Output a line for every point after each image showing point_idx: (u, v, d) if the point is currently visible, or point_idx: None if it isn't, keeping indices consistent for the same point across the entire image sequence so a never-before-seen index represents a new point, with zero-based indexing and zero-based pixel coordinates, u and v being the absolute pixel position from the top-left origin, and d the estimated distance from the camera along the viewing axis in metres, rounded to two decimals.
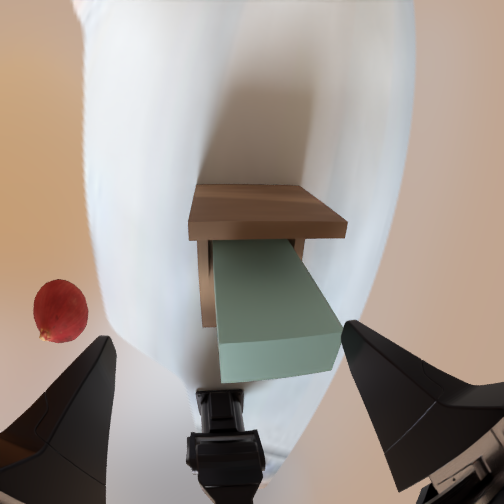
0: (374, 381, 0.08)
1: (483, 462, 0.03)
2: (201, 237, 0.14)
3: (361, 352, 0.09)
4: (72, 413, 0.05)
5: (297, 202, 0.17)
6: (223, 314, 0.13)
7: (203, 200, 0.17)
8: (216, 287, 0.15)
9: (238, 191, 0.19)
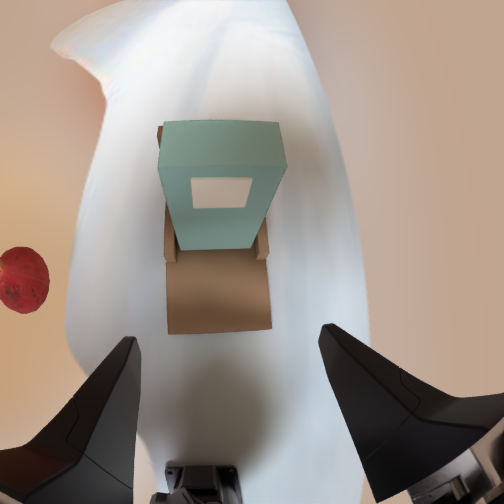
0: (350, 388, 0.08)
1: (462, 481, 0.03)
2: None
3: (337, 357, 0.08)
4: (104, 418, 0.05)
5: None
6: None
7: None
8: None
9: None
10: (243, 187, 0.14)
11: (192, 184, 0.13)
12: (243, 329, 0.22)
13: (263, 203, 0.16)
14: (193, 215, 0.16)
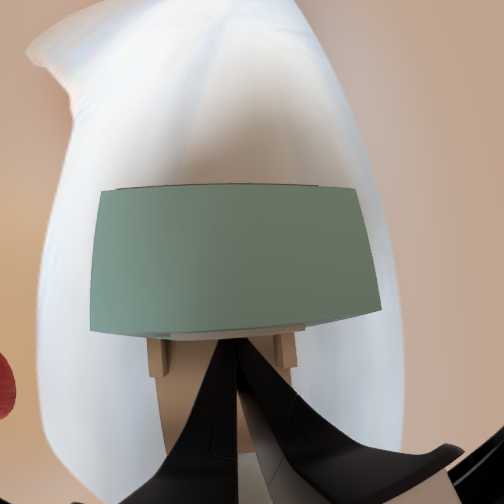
0: (247, 407, 0.07)
1: None
2: None
3: (238, 372, 0.08)
4: None
5: None
6: None
7: None
8: None
9: None
10: None
11: (176, 340, 0.06)
12: None
13: (306, 326, 0.09)
14: None
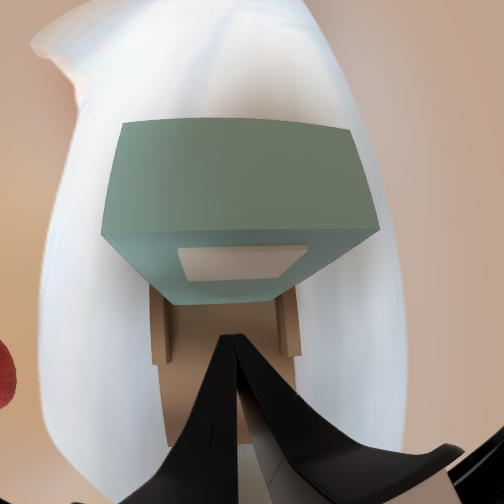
0: (247, 407, 0.07)
1: None
2: None
3: (238, 372, 0.08)
4: None
5: None
6: None
7: None
8: None
9: None
10: (285, 260, 0.07)
11: (182, 259, 0.06)
12: None
13: (308, 270, 0.09)
14: (189, 283, 0.10)
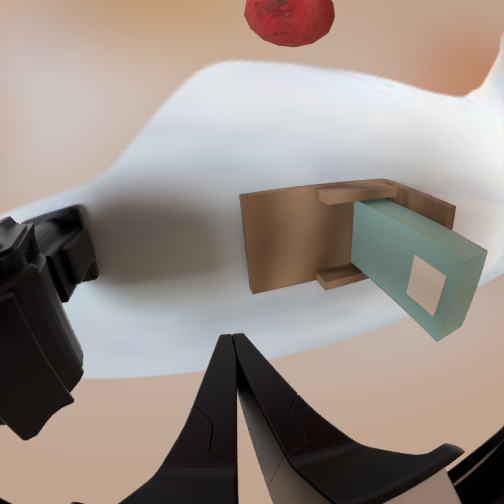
0: (248, 407, 0.07)
1: None
2: (448, 215, 0.15)
3: (238, 372, 0.08)
4: None
5: None
6: None
7: None
8: (440, 225, 0.16)
9: None
10: (426, 305, 0.14)
11: (441, 274, 0.13)
12: (251, 270, 0.23)
13: (406, 306, 0.17)
14: (404, 246, 0.16)
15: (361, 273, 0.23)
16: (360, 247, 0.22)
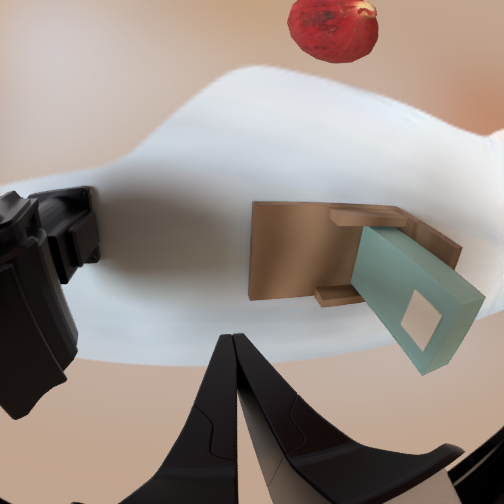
0: (247, 407, 0.07)
1: None
2: (453, 255, 0.15)
3: (238, 371, 0.08)
4: None
5: None
6: None
7: None
8: None
9: None
10: (418, 340, 0.15)
11: (437, 313, 0.13)
12: (252, 277, 0.23)
13: (398, 336, 0.17)
14: (406, 278, 0.16)
15: (359, 296, 0.23)
16: (362, 271, 0.22)
